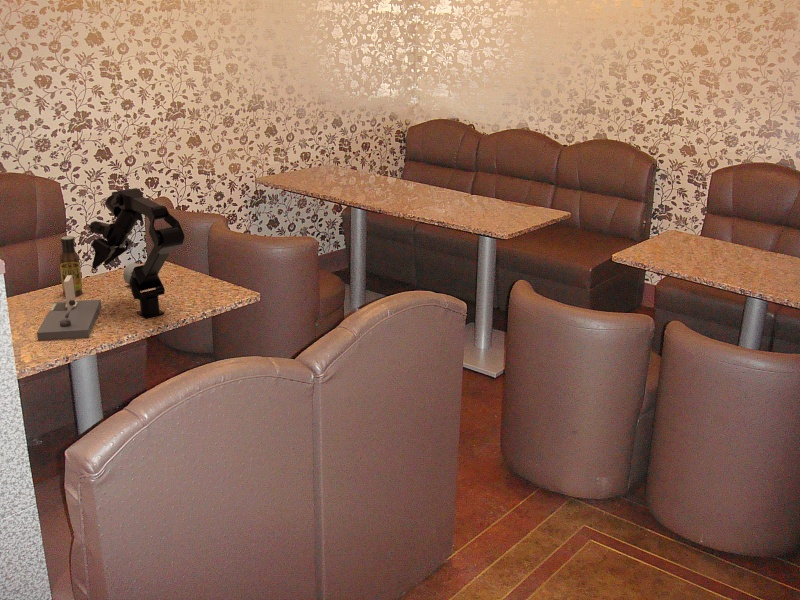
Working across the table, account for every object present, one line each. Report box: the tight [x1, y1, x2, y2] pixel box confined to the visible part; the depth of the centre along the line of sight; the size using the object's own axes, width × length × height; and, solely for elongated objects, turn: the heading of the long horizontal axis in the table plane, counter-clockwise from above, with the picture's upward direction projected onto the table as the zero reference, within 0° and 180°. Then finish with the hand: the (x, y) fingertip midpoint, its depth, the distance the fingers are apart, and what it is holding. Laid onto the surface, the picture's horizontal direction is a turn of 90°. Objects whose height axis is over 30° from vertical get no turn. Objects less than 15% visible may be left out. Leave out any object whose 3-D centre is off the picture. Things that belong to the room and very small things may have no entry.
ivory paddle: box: [64, 275, 78, 309], centre depth 248 cm, size 3×6×9 cm, turn 12°
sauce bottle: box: [59, 235, 83, 297], centre depth 264 cm, size 6×6×20 cm
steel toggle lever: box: [65, 300, 75, 318], centre depth 234 cm, size 2×2×6 cm
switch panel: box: [36, 299, 102, 341], centre depth 243 cm, size 14×26×4 cm, turn 12°
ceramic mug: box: [122, 262, 142, 285], centre depth 277 cm, size 11×8×8 cm
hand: (99, 265), depth 251 cm, fingers open, 9 cm apart
